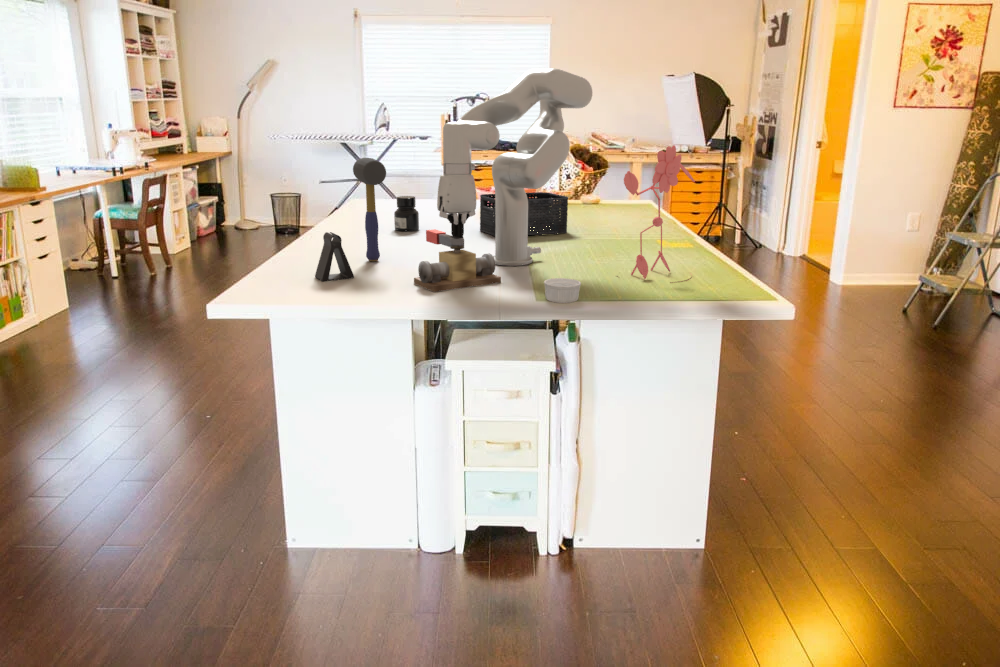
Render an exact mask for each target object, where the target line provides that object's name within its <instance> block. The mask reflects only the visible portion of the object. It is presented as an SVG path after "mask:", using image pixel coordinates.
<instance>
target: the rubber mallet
mask: <svg viewBox="0 0 1000 667" xmlns="http://www.w3.org/2000/svg"><path fill="white" fill-rule="evenodd" d="M352 172H353V175H354V177H355V178H356V179H357V180H358V181H359V182H362V183H363V184H365V198H366V201H365V202H366V212H365V216H364V218H365V222H364V223H365V224H364V229H365V230H364V231H365V235H366V253H365V254H366V256H365V257H366V258H367V260H368V261H369V262H377V261H379V259H380V258H381V256H380V255H381V253H380V250H379V220H378V219H379V218H378V213H377V210H376V193H375V190H376V189H375V186H377V185H380V184H382V183H383V182H384V180H385V179H386V177H387V169H386V167H385V165H384V164H383V163H382V162H381V161H379V160H377V159H376V158H372V157H362V158H361V157H360V158H359V159H357V160H356V161H355V162H354V164H353V167H352Z"/></svg>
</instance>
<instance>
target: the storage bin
mask: <svg viewBox="0 0 1000 667" xmlns="http://www.w3.org/2000/svg"><path fill="white" fill-rule="evenodd" d="M526 195H527V199H528V235H539V236H543V235H542V234H554V235H558V234H557V233H563V234H567V233H568V205H569V203H568V202H569V196H565V195H562V194H561V195H560V194H556V193H552V192H545V191H544V192H543V191H542V192H541V191H540V192H539V191H537V192H526ZM479 196H480V201H479V202H480V207H479V208H480V209H479V210H480V211H479V231H480V232H482V233H485V234H488V235H491V236H494V237H495V193H487V194H486V193H485V194H480V195H479ZM546 226H547V227H546ZM549 226H550V227H549ZM530 227H531V228H530ZM533 227H535V228H533ZM543 229H544V230H543ZM550 229H551V230H550ZM530 230H531V231H530ZM533 230H534V231H533ZM537 232H538V233H537ZM566 232H567V233H566Z"/></svg>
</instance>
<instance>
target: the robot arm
mask: <svg viewBox="0 0 1000 667" xmlns="http://www.w3.org/2000/svg"><path fill="white" fill-rule="evenodd" d="M592 98H593V87H592V85H591V83H590V82H589V81H588V79H586V78H585V77H583V76H579V75H577V74H574V73H571V72H569V71H566V70H563V69H560V68H555V67H554V68H553V67H552V68H551V67H550V68H548V67H547V68H545V67H544V68H530V69H528V70H526V71H525V72H523V73H522V74H521V75H520V76H519V77H518V78H517V79H515V80H514V81H513V82H512V83H511V84H510V85H509V86H508V87H507V88H506V89H504V90H503V91H502V92H501V93H499V94H498V95H495V96H493V97H492V98H490V99H487V100H486V101H484V102H482V103H480V104H478V105H476V106H474V107H472V108H471V109H469V110H468V111H467V112H465V113H464V114H463V115H462V116H460V117H459V118H458V120H457V121H456V122H455V121H453V122H446V123H444V124H443V127H442V144H443V145H442V148H443V149H442V150H443V151H442V156H443V157H442V158H443V167H442V168H443V171H442V172H443V174H441V175H440V176H439V182H438V188H437V197H436V198H437V199H436V200H437V203H436V205H437V206H436V207H437V211H438V212H439V214H438V216H439V218H442V219H443V218H444V219H447V220H448V221H449V223H450V224H451V228H450V230H451V231H450V232H451V234H450V235H451V236H454V237H457V238H464V234H465V233H464V231H465V229H464V228H465V227H464V226H465V224H466V222H467V221H468V219H469V218H471V217H473V216H475V215H476V209H477V191H476V190H477V189H476V182H475V176H474V175H473V174H472V173H473V171H474V170H475V169H476V166H475V165H473V163H472V150H475V151H489V150H491V149H494V148H495V147H496V146H497V145H498V143H499V140H500V138H501V137H500V136H501V135H500V131H499V128H498V127H497V126H502V125H506V124H510V123H512V122H515V121H518V120H520V119H521V118H522V117H523V116H524V115H525V114H526V113H527V112H528V111H529V110H530V109H531V108H532V107H534V106H535V105H536V104H537V103H538V102H539V108H540V109H539V116H537V118H536V119H535V121H534V122H533V123H532V124H531V125H530V126H529V127H528V129H527V130H526V131H525V132H524V133H523V134H522V136H520V138H519V139H518V142H517V143H516V152H504V153H501V154H499V155H497V157H496V158H495V159H494V161H493V162H492V166H491V175H492V179H493V180H492V181H493V186H494V194H495V236H494V237H495V238H494V239H495V241H494V243H495V245H494V246H495V250H494V254H495V255H492V256H493V257H494V260H495V265H498V266H507V267H508V266H509V267H510V266H511V267H512V266H513V267H514V266H515V267H517V266H526V265H530V264H532V263H533V257H531V256H532V255H536V254H540V253H541V252H542V247H540V246H535V247H532V246H530V245H528V244H529V242H528V237H529V236H528V199H527V195H526V193H527V192H526V190H525V189H530V190H536V189H541V188H543V187H544V186H545V185H546V184H547V183H548V182H549V181H550V180H551V178H552V177H553V176H554V175H555V174H556V173H557V172H558V170H559V169H560V167H562V166H563V164H564V163H565V161H566V160H567V158H568V156H569V153H570V140H569V138H568V136H567V134H566V133H565V132H564V129H565V122H564V118H563V113H562V109H583V108H586V107H587V106H588V105H589V104H590V102H591V100H592Z"/></svg>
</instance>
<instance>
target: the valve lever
mask: <svg viewBox="0 0 1000 667" xmlns="http://www.w3.org/2000/svg"><path fill="white" fill-rule="evenodd" d="M425 235H426V236H425V239H426V240H425V241H426V242H428V243H431V244H433V245H441V246H446V247H449V248H450V249H452V250H454V249H460V250H465V238H464V237H463V238H457V237H454V236H452V234H447V233H446V232H445V231H442V230H438V229H426V230H425Z"/></svg>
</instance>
